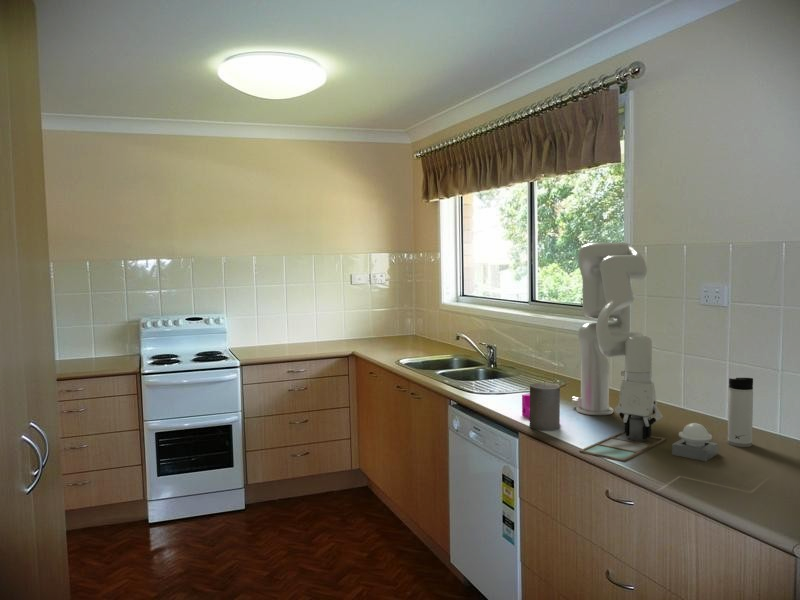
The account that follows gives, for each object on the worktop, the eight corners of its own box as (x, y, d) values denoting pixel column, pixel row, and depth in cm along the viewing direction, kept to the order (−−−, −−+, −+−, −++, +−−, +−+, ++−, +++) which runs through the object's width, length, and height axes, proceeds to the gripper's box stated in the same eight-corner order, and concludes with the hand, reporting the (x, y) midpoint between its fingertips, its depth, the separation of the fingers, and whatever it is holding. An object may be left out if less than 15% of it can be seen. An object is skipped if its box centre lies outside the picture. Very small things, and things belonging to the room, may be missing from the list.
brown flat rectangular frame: (579, 452, 182) (579, 450, 182) (624, 432, 201) (624, 430, 201) (624, 461, 172) (624, 460, 172) (666, 440, 192) (666, 438, 192)
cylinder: (626, 439, 193) (626, 407, 192) (633, 436, 196) (633, 404, 196) (641, 442, 190) (642, 410, 189) (648, 439, 193) (649, 407, 192)
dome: (673, 448, 178) (674, 423, 177) (685, 442, 184) (685, 418, 183) (705, 454, 172) (705, 429, 171) (716, 447, 178) (716, 422, 177)
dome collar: (672, 454, 178) (672, 444, 178) (684, 447, 184) (684, 437, 184) (705, 461, 172) (706, 450, 171) (717, 453, 178) (718, 443, 178)
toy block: (559, 424, 212) (559, 402, 211) (542, 426, 210) (542, 403, 210) (538, 414, 226) (538, 393, 226) (522, 415, 225) (522, 394, 224)
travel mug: (740, 448, 182) (741, 379, 181) (722, 442, 189) (723, 375, 187) (758, 446, 184) (759, 377, 183) (739, 440, 190) (741, 373, 189)
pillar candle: (523, 425, 211) (523, 380, 210) (546, 421, 216) (546, 377, 214) (543, 432, 202) (543, 385, 201) (566, 428, 207) (566, 382, 206)
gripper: (605, 375, 195) (605, 434, 196) (661, 382, 183) (660, 444, 184) (617, 372, 200) (616, 429, 202) (671, 378, 188) (671, 439, 190)
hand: (637, 436), depth 193 cm, fingers closed on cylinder, 4 cm apart
